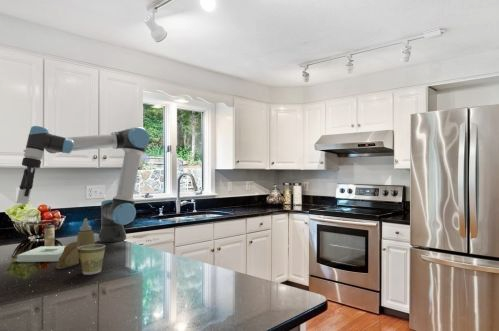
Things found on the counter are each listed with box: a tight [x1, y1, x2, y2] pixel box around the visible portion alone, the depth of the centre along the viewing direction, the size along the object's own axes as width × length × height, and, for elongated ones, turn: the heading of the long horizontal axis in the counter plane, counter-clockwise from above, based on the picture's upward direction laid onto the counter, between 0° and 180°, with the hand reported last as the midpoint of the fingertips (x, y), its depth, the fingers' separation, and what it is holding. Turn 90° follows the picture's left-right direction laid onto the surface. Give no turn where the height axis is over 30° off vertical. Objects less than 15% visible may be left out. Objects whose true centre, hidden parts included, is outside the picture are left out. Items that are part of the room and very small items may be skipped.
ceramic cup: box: [77, 243, 106, 276], centre depth 143 cm, size 13×10×10 cm
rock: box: [55, 241, 80, 270], centre depth 152 cm, size 11×9×10 cm
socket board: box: [16, 245, 66, 263], centre depth 169 cm, size 18×18×3 cm
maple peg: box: [44, 224, 55, 246], centre depth 186 cm, size 4×4×12 cm
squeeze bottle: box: [76, 217, 96, 260], centre depth 165 cm, size 8×8×18 cm
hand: (21, 203), depth 167 cm, fingers open, 13 cm apart
